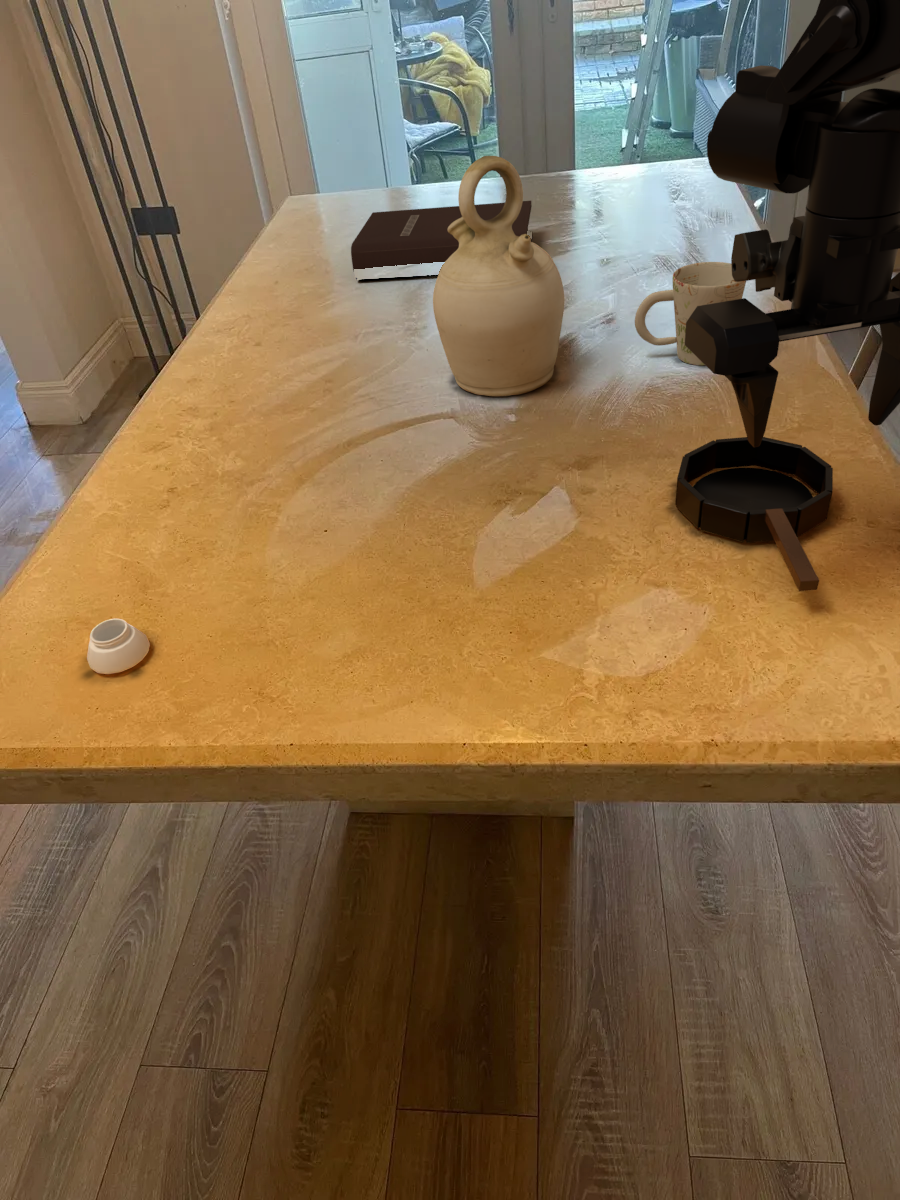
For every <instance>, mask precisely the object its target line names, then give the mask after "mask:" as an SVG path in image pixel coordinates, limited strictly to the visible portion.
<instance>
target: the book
mask: <svg viewBox="0 0 900 1200" xmlns="http://www.w3.org/2000/svg"><path fill="white" fill-rule="evenodd" d="M504 205H505V202H494V203H493V202H492V203H480V204H475V208H476V211H477V213H478V215H479V216H480V217H481V218H482V219H483V220H490V219H493V218H494V217H496V216H497V215H498V214H499V213H500V212H501V211H502V209H503V207H504ZM531 212H532V200H523V202H522V207H521V210H520V213H519V215H518V217H517V218H516V220H515V221H514V222H513V224H512V230H513V232H514V234H515V235H516V236H519V237H520V236H521V235H523V234H527V231H529V225H530V218H531ZM461 217H462V215H461V212H460V208H459V205H453V206H440V207H428V208H414V209H400V210H399V209H398V210H389V211H375V212H374V211H373V212H372V213H371V215H370V216H369V217H368V219H367V220H366V221H365V223H364V225H363V227H361V229H360V231H359V232H358V234H357V235H356V237H355V238H354V240H353V241H352V243H351V246H350V257H351V265H352V270H353V271H354V269H365V268H373V267H383V266H395V265H396V266H397V265H407V264H420V263H421V264H422V263H433V262H445V261H446V260H447V259H448V258H449V257H450V256H451V255H452V254H453V253H454V252H455V251H456V250H457V249H458V248H459V242H458V240H457V239H455V238H454V236H453V235H452V234H450V233H449V232H448V227H449V226H450V224H452V223H453V222H454V221H455V220H457V219H459V218H461Z"/></svg>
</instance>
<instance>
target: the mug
mask: <svg viewBox="0 0 900 1200" xmlns="http://www.w3.org/2000/svg"><path fill="white" fill-rule="evenodd" d="M746 283H747V281H740V282H736V281H735V280H734V279H733V277H732V266H731V263H730V262H723V261H703V262H695V263H690V264H686V265H683V266H681V267H679V268H678V269H676V270H675V271H674V272H673V273H672V289H666V290H659V291H654V292H652V293H651V294H649V295H647V296H646V297H645V298H644V299H643V300H642V301H641V303H640V304H639V305H638V308H637V310H636V312H635V316H634V328H635V330H636V333H637V334H638V336H639V337H640V338H641V339H642V340H644V341H645V342H646V343H648V344H650V345H653V346H657V347H658V346H669V345H674V344H676V353H677V354H676V355H677V358H678V359H679V360H680V361H682V362H683V363H686V364H688V365H693V366H706V365H705V364H704V363H703V362H702V361H701V360H699V359H698V358H697V357H696V356H695V355H694V354H693V353H692V352H691V351H690V350H689V349H688V348H687V347H686V346H685V332H686V322H687V320H688V319H689V317H690V316H691V314H692V313H693V312H694V310H695V309H696V307H697V306H701V305H707V304H713V303H719V302H725V301H731V300H737V299H743V298H744V297H743V296H744V292H745V287H746ZM672 301H673V311H674V312H673V313H674V325H675V336H667V337H655V336H654V335H653V334H652V333H651V332H650V331H649V329H648V327H647V324H646V317H647V315H648V312H649V310H650V309H651V308H652V307H653V306H654V305H655V304H657V303H663V302H672Z"/></svg>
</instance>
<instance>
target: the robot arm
mask: <svg viewBox="0 0 900 1200" xmlns="http://www.w3.org/2000/svg"><path fill="white" fill-rule="evenodd" d="M899 74H900V0H819V3H818V6H817V9H816V12H815V14H814V16H813V17H812V19H811V21H810V22H809V24H808V26H807V27H806V29H805V30H804V31H803V33H802V35H801V36H800V37H799V40H798V41H797V43H796V44H795V46H794V47H793V49H792V50H791V52H790V53H789V55H788V56H787V58H786V60H785V61H784V63H783V64H782V66H781V67H780V68H778V67H776V66H772V65H761V64H760V65H756V66H752V67H748V68H744V69H740V70H738V72H737V73H736V80H735V91H734V92H733V93H731V95H729V96H728V98H727V99H726V100H725V101H724V103H723V104H722V105H721V107H720V109H719V110H718V112H717V114H716V116H715V118H714V121H713V124H712V127H711V130H710V131H709V132H708V133H707V140H706V155H707V159H708V164H709V167H710V169H711V171H712V173H713V174H714V176H716V178H718V179H720V180H723V181H726V182H731V183H734V184H739V185H744V186H749V187H754V188H759V189H764V190H768V191H773V192H778V193H782V194H797V193H800V192H801V191H803V190H805V189H806V188H808V191H807V199H806V203H805V204H806V205H805V210H804V215H800V216H794V217H793V220H792V222H791V223H790V226H789V232H788V237H787V239H785V240H779V241H774V242H772V239H771V235H770V232H769V229H767V228H766V229H765V228H764V229H759V230H753V231H752V230H751V231H747V232H742V233H737V234H734V237H733V238H734V239H733V244H732V251H731V257H730V258H731V260H730V262H731V266H732V277H733V279H734V280H735V281H736V282H740V281H746V282H748V281H752V280H753V281H754V283H755V284H754V285H755V292H756V293H760V292H763V291H769V290H771V289H772V288H774V291H773V297H775V298H776V299H778V300H779V301H781V302H785V301H789V302H790V308H789V309H783V310H778V311H777V310H776V311H771V312H764V311H763V310H761V309H760V308H759V307H757V305H755V304H754V303H752V302H751V301H750V300H748V299H747V298H746V297H742V299H737V300H731V301H725V302H719V303H713V304H707V305H701V306H697V307H696V309H695V310H694V312H693V313H692V314H691V316H690V317H689V319H688V320H687V322H686V332H685V346H686V347H687V348H688V349H689V350H690V351H691V352H692V353H693V354H694V355H695V356H696V357H697V358H698V359H699V360H701V361H702V362H703V363H704V364H705V365H704V366H705V367H706V368H707V369H709V370H710V371H711V373H713V374H714V375H719V376H724V377H725V378H726V379H727V380H729V382H730V384H731V386H732V388H733V391H734V394H735V397H736V400H737V405H738V409H739V412H740V416H741V420H742V423H743V427H744V430H745V434H746V437H747V438H748V441H749V443H750V444H751V445H752V446H753V447H759V446H760V444H761V441H762V439H763V437H765V433H766V430H767V425H768V421H769V416H770V411H771V407H772V402H773V399H774V395H775V390H776V386H777V381H778V377H779V370H777V369H776V368H775V367H774V366H773V365H771V363H772V362H773V361H774V360H775V359H776V358H777V357H778V356H779V355H778V353H779V348H780V343H781V342H785V341H791V340H792V341H793V340H798V339H803V338H810V337H814V336H822V335H828V334H833V333H839V332H844V331H851V330H856V329H863V328H867V327H868V328H869V327H873V326H879V330H880V335H881V336H880V337H881V343H882V344H881V350H880V355H879V359H878V363H877V367H876V373H875V377H874V381H873V386H872V390H871V395H870V399H869V407H868V416H867V420H868V421H869V422H870V423H871V424H872V425H873V426H875V427H876V426H880V425H882V424H883V423H884V422H885V420H887V418H888V417H889V416H890V415H891V414H892V413H893V411H894V410H895V409H896V408H897V407H898V406H899V404H900V271H899V272H898V273H896V274H895V275H894V276H893V273H894V270H895V269H894V268H895V263H896V259H897V255H898V250H899V249H900V89H887V88H876V87H875V88H869V89H866V90H863V91H861V92H860V93H858V94H856V95H855V96H854V97H853V98H851V99H850V100H849V101H842V99H843V92H845V91H850V90H854V89H858V88H862V87H865V86H869V85H873V84H877V83H881V82H884V81H886V80H887V79H889V78H890V77H892V76H895V75H899Z"/></svg>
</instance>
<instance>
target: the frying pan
mask: <svg viewBox="0 0 900 1200" xmlns="http://www.w3.org/2000/svg"><path fill="white" fill-rule="evenodd" d="M718 469H719V470H718ZM720 469H721V470H720ZM714 470H716V471H714ZM712 471H714V472H712ZM710 472H711V473H710ZM706 474H707V475H706ZM704 475H705V476H704ZM790 475H792V476H795V477H797V478H798V479H799V480H798V479H796V478H795V477H792V476H790ZM698 478H700V479H698ZM697 479H698V480H697ZM694 480H697V481H696V482H695V483H694V484H693V485H692V484H691V482H692V481H693V482H694ZM833 480H834V468H833V467H832V465H831V464H830V463H829V462H827V461H826V460H824V459H823V458H821V457H820V456H818V455H817V454H816V453H815V452H813V451H812V450H810V449H809V448H808V447H807V446H803V445H801V444H799V443H798V444H797V443H793V442H788V441H784V440H779V439H775V438H771V437H766V436H763V439H762V441H761V444H760V446H759V447H753V446H752V445H751V444H750V443H749V441H748V438H747V436H743V437H741V436H740V437H729V438H717V439H715V440H714V439H713V440H711V441H709V442H707V443H705V444H703V445H701V446H699V447H697V448H695V449H693V450H691V451H690V452H687V453H685V454H684V455H683V456H682V458H681V463H680V467H679V470H678V473H677V478H676V490H675V503H674V505H675V508H676V509H678V510H679V512H681V513H682V514H683V516H685V518H687V520H688V521H690V523H691V524H693V525H694V526H695V528H697V529H699V530H700V531H703V532H706V533H710V534H713V535H717V536H720V537H723V538H727V539H730V540H734V541H737V542H739V543H740V542H741V543H744V542H746V543H747V544H748V543H762V542H775V545H776V547H777V549H778V551H779V553H780V555H781V557H782V559H783V562H784V564H785V566H786V567H787V570H788V571H789V574H790V576H791V578H792V580H793V581H794V584H795V587H796V589H797V590H798V592H806V591H808V592H810V591H818V588H819V585H820V584H819V583H820V578H819V577H818V575H817V573H816V571H815V569H814V567H813V565H812V563H811V561H810V560H809V557H808V556H807V553H806V551H805V550H804V548H803V546H802V543H801V542H800V540H799V538H800V537H801V536H803V535H804V534H806V533H808V532H809V531H811V530H813V529H814V528H816V527H818V526H819V525H821V524H822V523H824V522H825V521H827V519H828V514H829V510H830V506H831V501H832V497H833V496H832V495H833V492H834V491H833V483H834V481H833ZM802 482H803V483H802ZM806 485H807V486H808V487H809V488H811V490H813V491H815V492H816V493H817V494H816V495H815V496H814V495H813V494H812V492H811V491H810V489H809V488H808V487H807V486H806Z"/></svg>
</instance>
